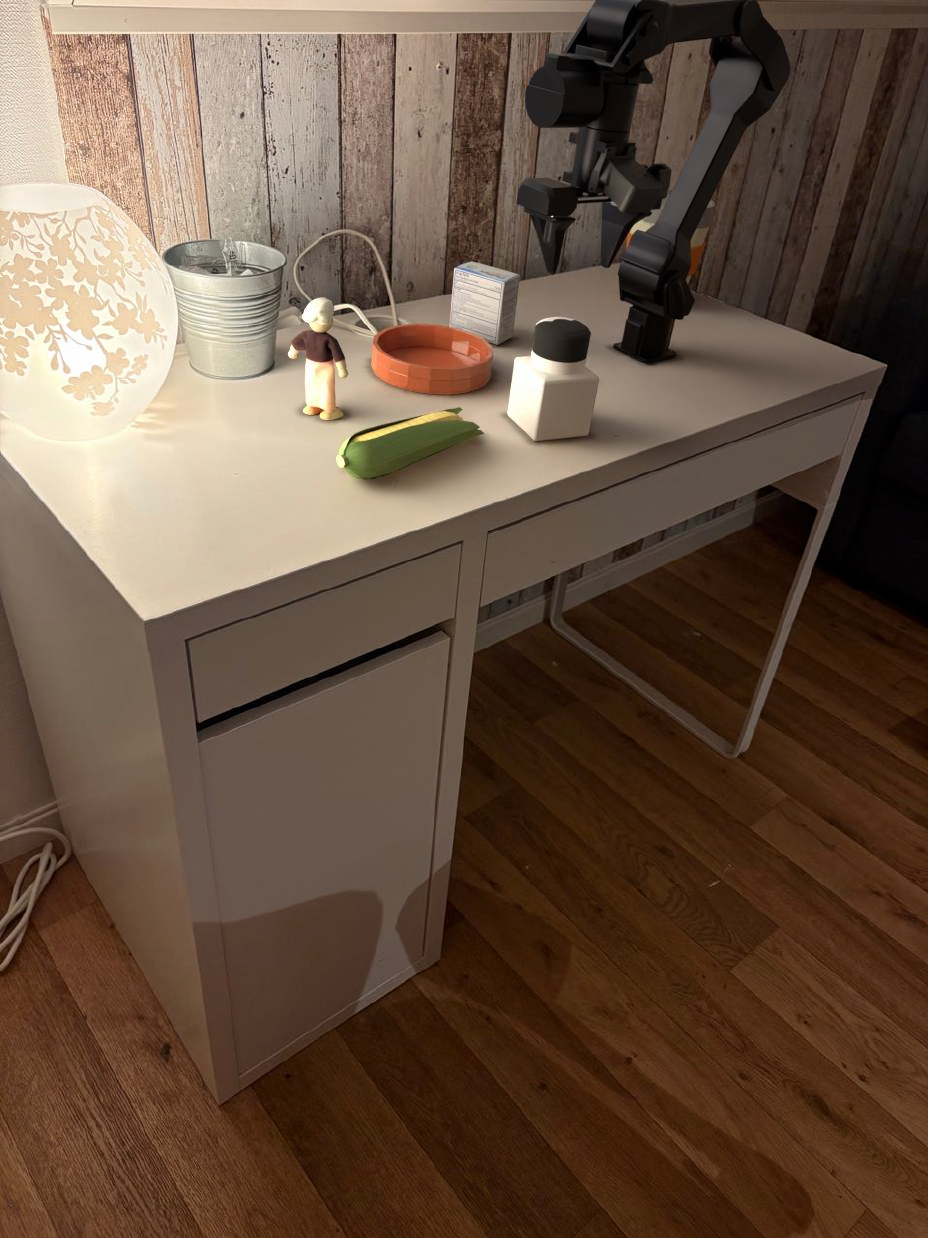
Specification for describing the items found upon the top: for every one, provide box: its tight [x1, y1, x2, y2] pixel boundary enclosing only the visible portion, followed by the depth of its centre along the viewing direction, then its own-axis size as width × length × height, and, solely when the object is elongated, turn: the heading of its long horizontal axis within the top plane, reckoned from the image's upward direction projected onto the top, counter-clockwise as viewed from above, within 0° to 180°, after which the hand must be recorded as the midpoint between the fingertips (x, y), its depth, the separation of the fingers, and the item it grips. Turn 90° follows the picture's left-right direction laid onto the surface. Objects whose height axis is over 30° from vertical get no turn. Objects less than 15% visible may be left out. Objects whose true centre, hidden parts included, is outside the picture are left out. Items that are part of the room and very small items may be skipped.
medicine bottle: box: [507, 316, 600, 442], centre depth 107 cm, size 7×7×12 cm
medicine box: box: [448, 261, 521, 346], centre depth 130 cm, size 8×4×9 cm, turn 58°
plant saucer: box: [370, 323, 494, 395], centre depth 120 cm, size 15×15×3 cm
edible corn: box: [335, 406, 485, 480], centre depth 99 cm, size 5×20×5 cm, turn 135°
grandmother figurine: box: [287, 296, 349, 421], centre depth 104 cm, size 8×4×13 cm, turn 71°
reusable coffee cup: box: [625, 188, 716, 285], centre depth 149 cm, size 13×13×15 cm
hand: (578, 270), depth 116 cm, fingers open, 9 cm apart
